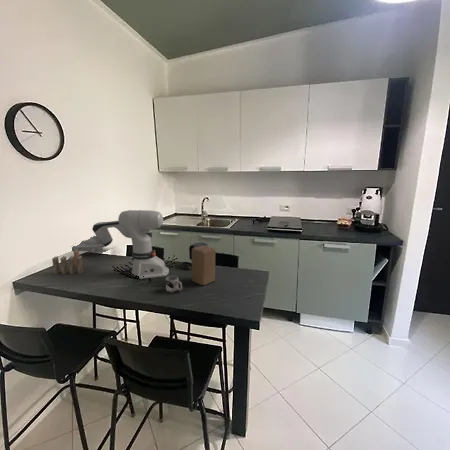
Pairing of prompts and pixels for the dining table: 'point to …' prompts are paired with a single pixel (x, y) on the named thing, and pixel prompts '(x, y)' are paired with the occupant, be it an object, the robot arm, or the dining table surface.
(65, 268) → the domino
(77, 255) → the domino
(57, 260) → the domino
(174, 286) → the mug
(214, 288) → the dining table surface
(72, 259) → the domino
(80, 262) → the domino
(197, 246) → the milk frother
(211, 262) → the wooden block
